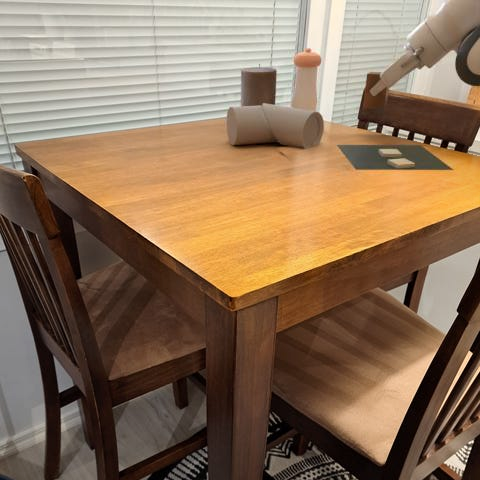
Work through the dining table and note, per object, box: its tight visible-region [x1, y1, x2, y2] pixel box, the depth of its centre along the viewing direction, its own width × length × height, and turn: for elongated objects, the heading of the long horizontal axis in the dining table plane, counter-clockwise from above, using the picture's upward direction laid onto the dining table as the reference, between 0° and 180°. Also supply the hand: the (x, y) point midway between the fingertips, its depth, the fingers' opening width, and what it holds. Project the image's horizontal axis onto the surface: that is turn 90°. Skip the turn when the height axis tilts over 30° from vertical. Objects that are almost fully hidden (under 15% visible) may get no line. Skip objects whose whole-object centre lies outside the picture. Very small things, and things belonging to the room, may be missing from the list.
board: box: [336, 144, 454, 171], centre depth 108 cm, size 20×20×1 cm
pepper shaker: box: [291, 47, 322, 112], centre depth 130 cm, size 7×7×19 cm
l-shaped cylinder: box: [226, 103, 325, 149], centre depth 116 cm, size 18×11×20 cm
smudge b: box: [387, 158, 415, 169], centre depth 102 cm, size 4×4×1 cm
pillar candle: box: [240, 63, 278, 106], centre depth 135 cm, size 10×10×15 cm
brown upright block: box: [361, 71, 390, 117], centre depth 119 cm, size 5×4×9 cm
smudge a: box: [378, 149, 402, 157], centre depth 109 cm, size 4×4×1 cm
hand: (374, 91), depth 119 cm, fingers closed on brown upright block, 4 cm apart
